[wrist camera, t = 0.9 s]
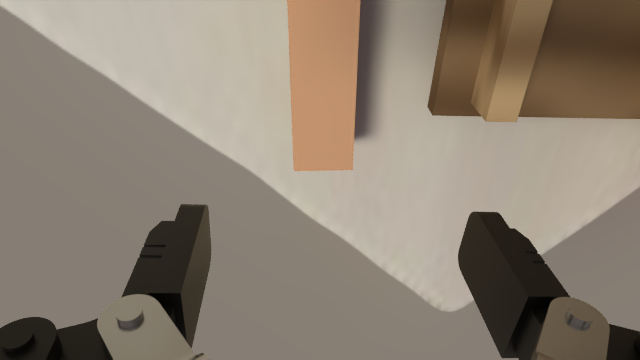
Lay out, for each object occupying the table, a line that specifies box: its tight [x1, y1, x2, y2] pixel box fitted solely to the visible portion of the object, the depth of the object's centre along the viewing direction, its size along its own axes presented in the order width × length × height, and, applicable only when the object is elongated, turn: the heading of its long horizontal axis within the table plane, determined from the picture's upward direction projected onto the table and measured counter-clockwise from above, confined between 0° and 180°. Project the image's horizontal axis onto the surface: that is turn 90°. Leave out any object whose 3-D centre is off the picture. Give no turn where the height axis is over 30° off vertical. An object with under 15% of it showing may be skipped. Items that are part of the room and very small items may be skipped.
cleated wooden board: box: [428, 0, 640, 122], centre depth 28 cm, size 12×19×4 cm, turn 88°
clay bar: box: [287, 0, 360, 171], centre depth 28 cm, size 16×4×4 cm, turn 0°
